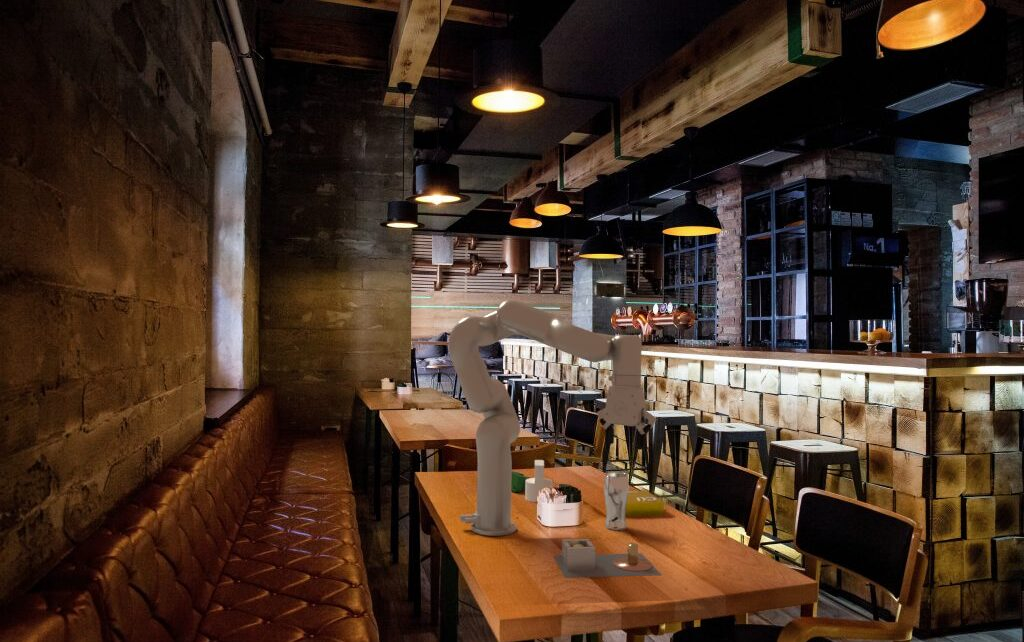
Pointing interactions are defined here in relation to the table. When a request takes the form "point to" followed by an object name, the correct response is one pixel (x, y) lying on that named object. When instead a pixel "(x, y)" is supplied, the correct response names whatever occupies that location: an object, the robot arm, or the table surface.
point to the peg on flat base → (632, 560)
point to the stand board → (604, 567)
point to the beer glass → (616, 499)
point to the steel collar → (578, 555)
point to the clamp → (518, 481)
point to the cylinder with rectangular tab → (536, 482)
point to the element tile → (643, 504)
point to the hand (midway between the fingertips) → (625, 446)
